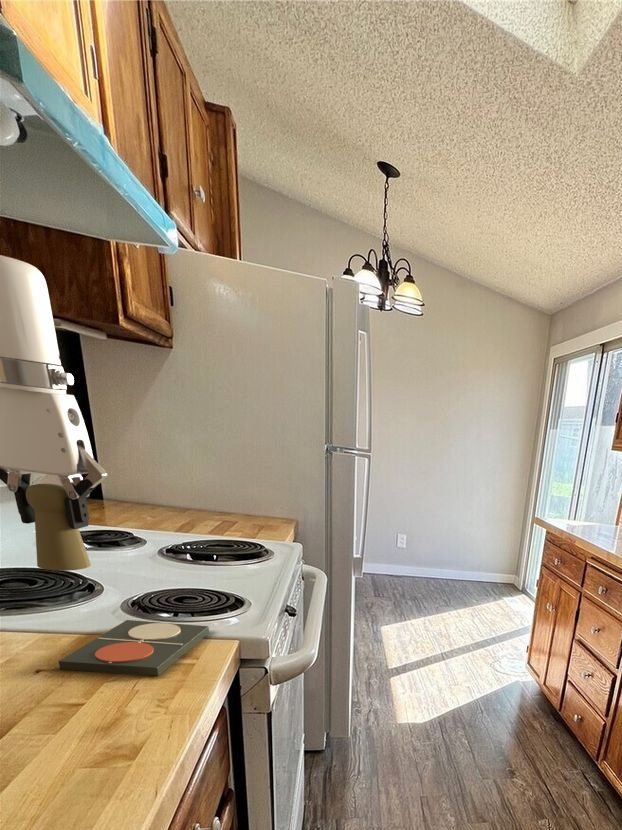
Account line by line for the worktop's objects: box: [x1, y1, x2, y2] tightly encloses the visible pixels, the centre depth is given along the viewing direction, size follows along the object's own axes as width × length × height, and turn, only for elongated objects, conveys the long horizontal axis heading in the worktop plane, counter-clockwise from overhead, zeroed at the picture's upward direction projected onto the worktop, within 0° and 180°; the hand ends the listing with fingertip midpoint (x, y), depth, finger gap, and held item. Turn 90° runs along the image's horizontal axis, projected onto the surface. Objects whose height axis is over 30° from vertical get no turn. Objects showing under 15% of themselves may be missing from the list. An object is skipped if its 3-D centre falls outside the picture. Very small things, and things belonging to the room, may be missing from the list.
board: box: [57, 619, 210, 677], centre depth 79 cm, size 12×16×1 cm
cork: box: [26, 483, 91, 572], centre depth 77 cm, size 6×6×11 cm
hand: (56, 523), depth 77 cm, fingers closed on cork, 5 cm apart
